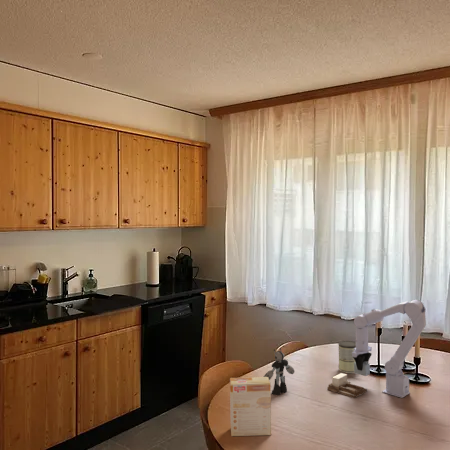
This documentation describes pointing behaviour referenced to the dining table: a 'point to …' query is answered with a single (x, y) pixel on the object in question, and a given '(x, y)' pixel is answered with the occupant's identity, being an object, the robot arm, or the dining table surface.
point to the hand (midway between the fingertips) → (362, 368)
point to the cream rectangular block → (339, 379)
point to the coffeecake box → (250, 406)
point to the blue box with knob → (364, 371)
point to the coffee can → (346, 356)
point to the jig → (348, 389)
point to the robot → (279, 373)
